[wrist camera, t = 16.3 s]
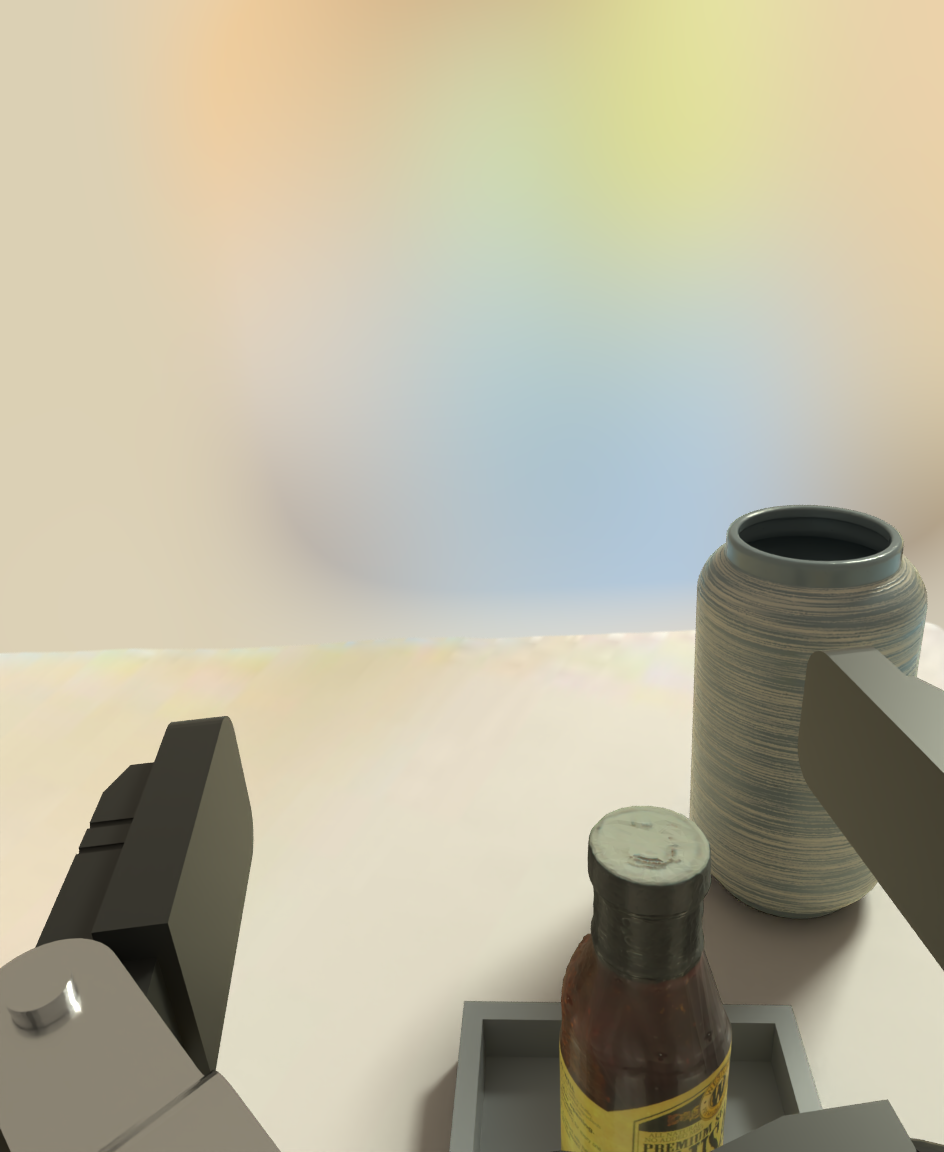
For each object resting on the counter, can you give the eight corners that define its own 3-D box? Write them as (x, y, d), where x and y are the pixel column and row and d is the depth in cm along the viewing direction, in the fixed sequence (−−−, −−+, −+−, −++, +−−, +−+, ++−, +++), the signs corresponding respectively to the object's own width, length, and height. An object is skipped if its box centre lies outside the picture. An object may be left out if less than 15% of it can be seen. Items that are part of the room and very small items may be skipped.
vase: (650, 866, 55) (654, 537, 46) (755, 785, 62) (777, 482, 52) (817, 975, 47) (862, 600, 38) (917, 868, 53) (978, 525, 44)
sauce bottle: (659, 1349, 32) (669, 963, 24) (532, 1225, 36) (503, 860, 28) (747, 1208, 36) (780, 838, 28) (624, 1111, 40) (622, 764, 32)
